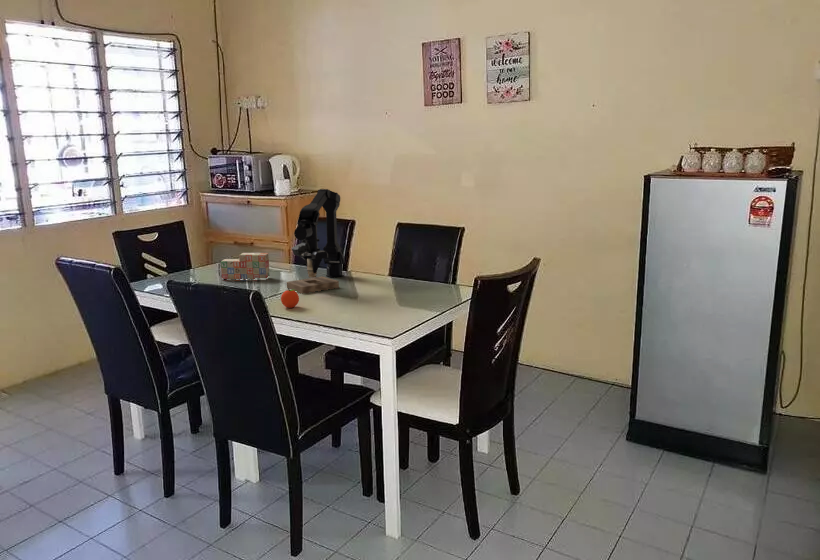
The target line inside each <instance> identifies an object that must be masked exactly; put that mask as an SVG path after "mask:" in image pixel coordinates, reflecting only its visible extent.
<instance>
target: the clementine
mask: <svg viewBox="0 0 820 560" xmlns="http://www.w3.org/2000/svg"><path fill="white" fill-rule="evenodd" d="M295 291H297V290H295ZM295 291H294V290H289V289H286V290H285V291H283V292H282V294H281V295H280V300H281V303H282V305H283V306H284V307H285V308H289V309H292V308H294V307H296V306H298V303H299V301H300V297H299V294H300V293H298V291H297V292H295Z"/></svg>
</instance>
